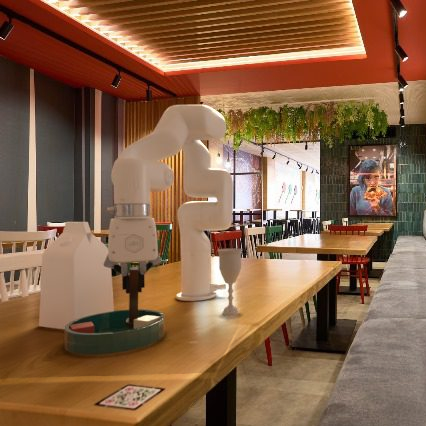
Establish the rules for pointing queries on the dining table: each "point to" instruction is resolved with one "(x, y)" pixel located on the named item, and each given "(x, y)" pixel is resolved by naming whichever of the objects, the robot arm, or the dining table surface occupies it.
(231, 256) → the chalice
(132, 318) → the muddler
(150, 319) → the cream block
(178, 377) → the dining table surface
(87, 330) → the red block
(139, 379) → the dining table surface
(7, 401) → the dining table surface
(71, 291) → the milk
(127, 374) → the dining table surface
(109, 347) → the bowl
